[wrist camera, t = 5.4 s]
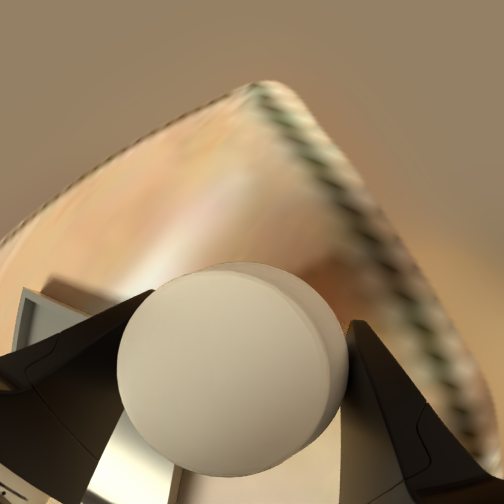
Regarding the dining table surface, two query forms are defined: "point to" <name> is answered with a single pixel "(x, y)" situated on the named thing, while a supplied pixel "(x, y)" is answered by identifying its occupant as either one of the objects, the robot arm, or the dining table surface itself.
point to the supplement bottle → (232, 368)
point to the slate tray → (124, 435)
